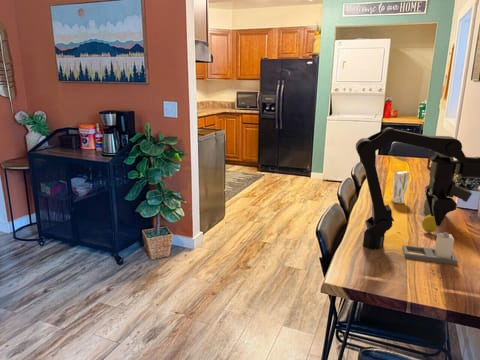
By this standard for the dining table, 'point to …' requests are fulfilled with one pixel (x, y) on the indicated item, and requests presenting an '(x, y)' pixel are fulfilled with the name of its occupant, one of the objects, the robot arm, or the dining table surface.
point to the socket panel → (426, 254)
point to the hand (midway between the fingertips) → (435, 220)
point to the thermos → (432, 169)
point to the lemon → (429, 224)
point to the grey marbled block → (400, 186)
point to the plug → (444, 245)
